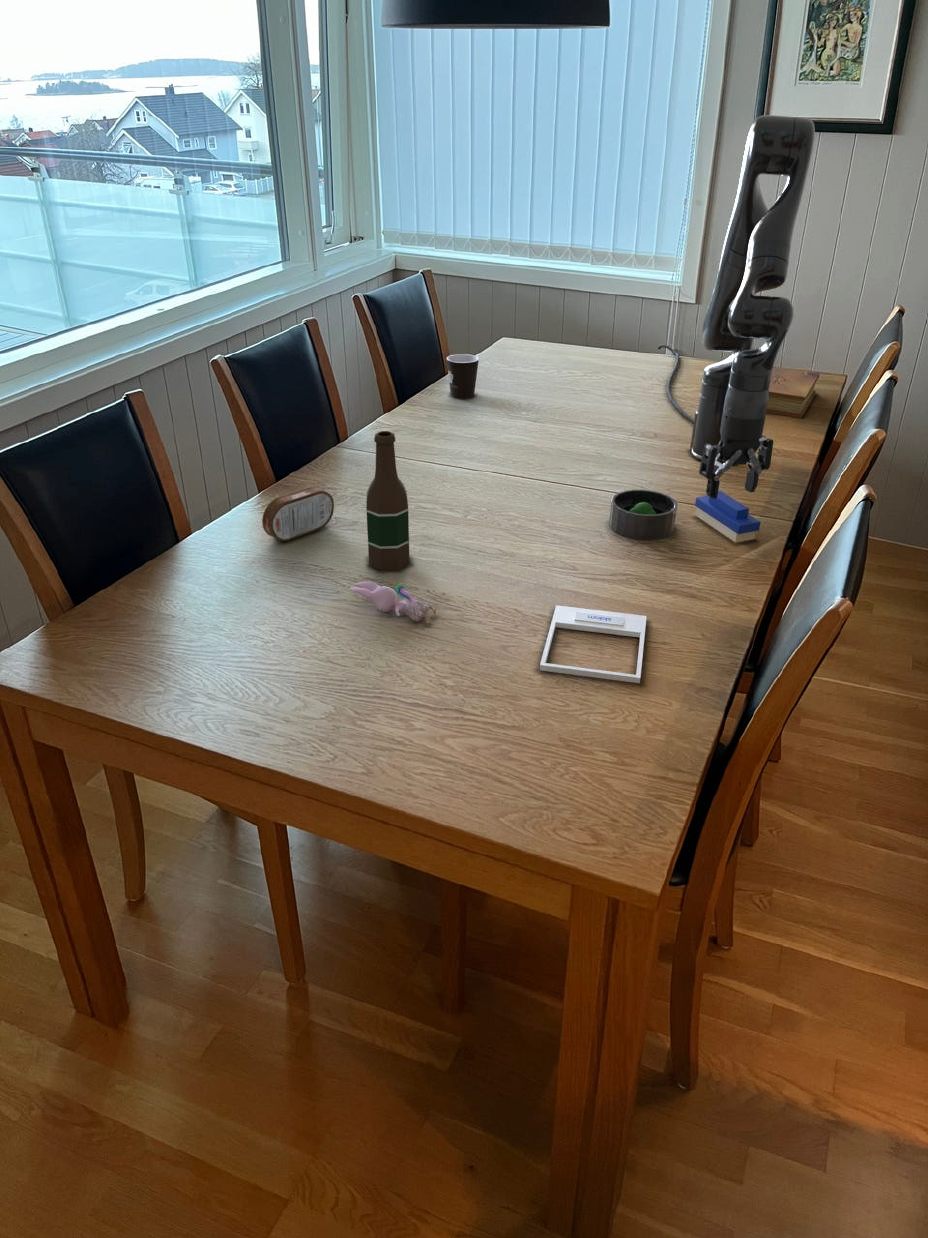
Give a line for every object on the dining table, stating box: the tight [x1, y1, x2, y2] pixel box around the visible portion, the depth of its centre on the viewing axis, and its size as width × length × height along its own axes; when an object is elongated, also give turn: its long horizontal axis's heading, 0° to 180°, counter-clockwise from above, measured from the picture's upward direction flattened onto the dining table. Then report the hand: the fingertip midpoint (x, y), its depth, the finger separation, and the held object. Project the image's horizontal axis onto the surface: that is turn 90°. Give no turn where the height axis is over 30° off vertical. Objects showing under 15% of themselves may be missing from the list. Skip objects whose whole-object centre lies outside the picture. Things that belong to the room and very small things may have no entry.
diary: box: [766, 366, 821, 418], centre depth 247 cm, size 23×19×6 cm
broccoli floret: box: [628, 502, 657, 515], centre depth 176 cm, size 5×6×5 cm
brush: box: [694, 490, 762, 543], centre depth 177 cm, size 14×5×6 cm, turn 22°
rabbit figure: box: [349, 580, 437, 626], centre depth 148 cm, size 6×6×15 cm
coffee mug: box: [446, 353, 480, 400], centre depth 249 cm, size 12×9×10 cm
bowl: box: [608, 489, 678, 541], centre depth 177 cm, size 12×12×6 cm
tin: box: [261, 485, 335, 542], centre depth 172 cm, size 15×3×8 cm, turn 134°
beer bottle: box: [365, 430, 410, 572], centre depth 159 cm, size 8×8×24 cm
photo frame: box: [539, 604, 647, 684], centre depth 141 cm, size 15×1×18 cm
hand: (730, 494), depth 174 cm, fingers open, 8 cm apart
